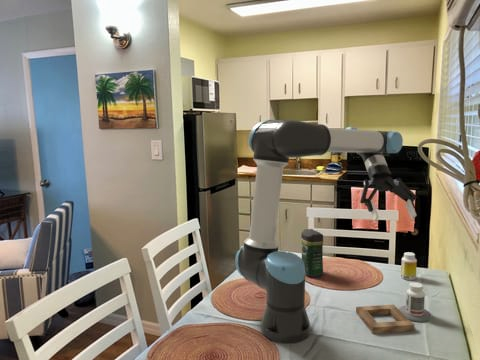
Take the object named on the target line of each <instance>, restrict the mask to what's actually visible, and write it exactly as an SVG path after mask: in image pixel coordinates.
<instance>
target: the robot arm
mask: <svg viewBox="0 0 480 360" xmlns="http://www.w3.org/2000/svg"><path fill="white" fill-rule="evenodd" d="M403 142H404V139H403V136H402V134H401V133H400V132H398V131H392V130H389V131H388V130H373V129H371V130H370V129H369V130H368V129H367V130H366V129H358V128H357V127H354V126H348V127H345V128H334V127H328V126H326V125H325V124H320V123H312V122H307V121H302V120H296V119H268V120H263V121H259V122H258V123H257V124H255V125H254V126H253V127H252V128H251V130H250V133H249V135H248V144H249V145H248V146H249V148H250V149H251V151H252V152H253V161H254V163H255V164H256V173H255V174H256V175H255V184H254V190H253V198H252V199H253V202H252V207H251V209H252V210H251V215H250V217H251V218H250V228H249V235H248V237H247V238H246V239H244V240H243V245H242V246H241V247H239V248H240V249H239V250H238V251H237V252H236V254H235V259H234V260H235V268H236V270H237V272H238V274H240V276H241V277H243V278H244V279H245V280H246V281H248V282H250V283H253V284H254V285H255V286H257V287H259V288H261V289H263V290H264V291H266V295H265V296H266V306H265V308H264V312H263V315H262V317H261V321H260V331H261V333H262V334H263V336H264V337H266V338H267V339H269V340H270V341H271V340H272V341H274V342H278V343H284V344H285V343H286V344H287V343H288V344H291V343H297V342H300V341H304V340H305V339H307V338H308V337H309V335H310V333H311V322H310V319H309V315H308V313H307V310H306V307H305V298H306V275H305V267H304V262H303V260H302V257H300V256H299V255H298V254H296V253H293V252H290V251H288V252H286V250H285V251H283V250H279V244H278V242H277V241H276V235H277V234H276V231H277V223H278V217H279V215H278V214H279V208H280V198H281V189H282V181H283V172H284V168H286V166H288V165H289V163H290V159H293V158H302V157H303V158H305V157H314V156H316V157H317V156H324V155H325V154H327V153H356V154H357V155H359V156H361V157H362V160H363V163H364V165H365V169H366V172H367V175H368V177H369V178H365V179H364V180H363V183H362V185H363V190H362V192H361V197H360V201H359V203H360V204H364V206H366V207H367V210H368V212H369V213H371V216H372V219H373V221H374V222H376V221H377V220H378V219H379V214H378V211H377V207H376V205H375V202H374V200H373V198H374V196H375V195H376V193H377V192H380V193H381V192H390V193H393V194H394V195H396V196H398V197H399V198H400V199H401V200H403V201H404V202H405V207H406V209H407V211H408V212H407V213H408V214H409V217H410V219H411V220H414V219H415V218H416V217H417V212H416V210H415V209H416V205H415V203H414V202H415V200H416V199H417V198H418V195H416V194H415V193H414V192H413V190H411V189H410V188H409V187H408V186H407V185H406V183H404V182H403V181H402V178H401V177H397V178H396V179H394V178H392V174H391V171H390V169H389V167H388V163H387V161H386V158H385V155H384V154H397V153H399V152H400V151H401V149H402V148H403ZM383 153H384V154H383ZM370 186H372V187H373V190H372V191H371V193H370V194H369V196H368V197H367V195H368V191H369V187H370Z"/></svg>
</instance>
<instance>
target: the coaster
mask: <svg viewBox="0 0 480 360" xmlns="http://www.w3.org/2000/svg"><path fill="white" fill-rule="evenodd" d="M398 309H399V310H400V311H401V312H402V313H403V314H404V315H405V316H406V317H407V318H408V319H409V320H410V321H411V322H416V323H417V322H418V323H425V322H429V321H430V320H431V319H432V314H431V312H430V311H429V310H427V309H425V308H424V314H423V315H422V316H413V315H410V314H408V313H407V312H406V305H403V306H402V305H401V306H399V308H398Z"/></svg>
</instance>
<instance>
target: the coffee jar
mask: <svg viewBox="0 0 480 360" xmlns="http://www.w3.org/2000/svg"><path fill="white" fill-rule="evenodd" d="M300 238H301V239H300V240H301V259H302V260H303V262H304V267H305V276H306V277H312V278H317V277H320V276H323V274H324V260H323V258H324V257H323V256H324V254H323V253H324V250H323V246H324V235H323V234H322V233H321V232H319V231H317V230H314V228H307V229H306V228H305V229H304V230H302V232H301V236H300Z"/></svg>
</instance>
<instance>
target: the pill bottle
mask: <svg viewBox="0 0 480 360" xmlns="http://www.w3.org/2000/svg"><path fill="white" fill-rule="evenodd" d="M408 288H409V289H407V290H406V298H405V300H406V301H405V303H406V304H405V306H406V312H407V313H408V314H410V315H413V316H422V315H423V314H424V309H425V297H426V296H425V295H426V293H425V292H424V291H423V290H424V285H423V284H422V283H420V282H417V281H416V282H409V287H408Z"/></svg>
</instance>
